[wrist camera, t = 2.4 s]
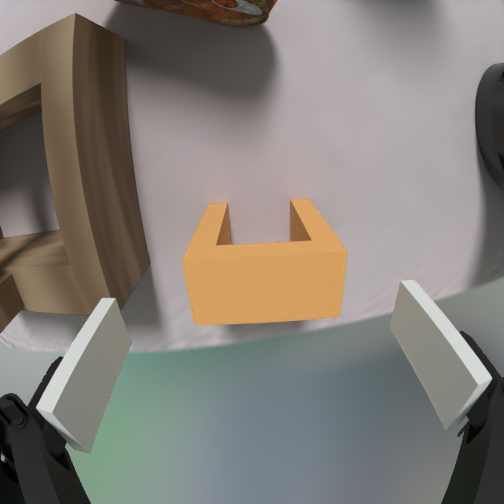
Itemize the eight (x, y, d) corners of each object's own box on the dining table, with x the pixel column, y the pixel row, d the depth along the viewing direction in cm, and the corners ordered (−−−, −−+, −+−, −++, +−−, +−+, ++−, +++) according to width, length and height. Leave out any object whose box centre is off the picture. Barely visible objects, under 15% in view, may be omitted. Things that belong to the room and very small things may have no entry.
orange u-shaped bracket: (308, 199, 23) (347, 251, 13) (308, 244, 24) (339, 316, 15) (208, 203, 23) (181, 259, 14) (213, 249, 24) (194, 324, 15)
